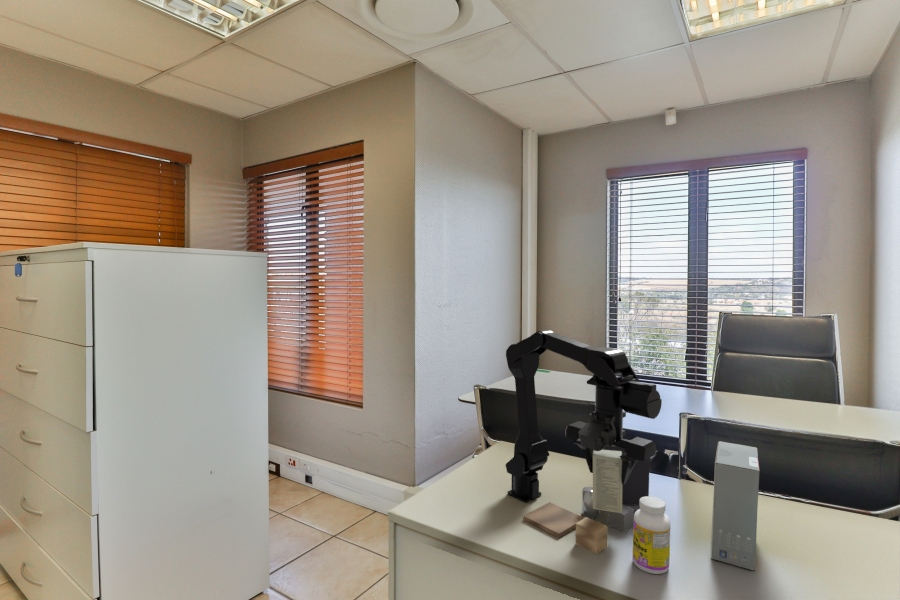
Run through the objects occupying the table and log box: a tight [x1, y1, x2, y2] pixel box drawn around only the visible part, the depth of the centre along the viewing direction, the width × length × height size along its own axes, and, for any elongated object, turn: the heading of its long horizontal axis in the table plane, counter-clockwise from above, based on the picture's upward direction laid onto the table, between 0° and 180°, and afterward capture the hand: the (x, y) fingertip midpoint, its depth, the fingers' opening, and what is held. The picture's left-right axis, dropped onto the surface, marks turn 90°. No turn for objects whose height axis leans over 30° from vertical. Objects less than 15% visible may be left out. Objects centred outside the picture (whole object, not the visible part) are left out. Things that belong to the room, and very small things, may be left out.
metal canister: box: [581, 486, 601, 520], centre depth 111 cm, size 4×4×6 cm
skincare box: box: [592, 449, 622, 513], centre depth 102 cm, size 6×4×12 cm
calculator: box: [603, 445, 651, 506], centre depth 117 cm, size 11×4×15 cm, turn 84°
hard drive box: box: [710, 440, 760, 571], centre depth 98 cm, size 16×8×20 cm, turn 148°
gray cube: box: [607, 505, 634, 533], centre depth 106 cm, size 4×4×4 cm
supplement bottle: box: [632, 495, 671, 575], centre depth 92 cm, size 7×7×13 cm
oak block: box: [575, 517, 608, 555], centre depth 99 cm, size 5×4×4 cm
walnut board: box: [522, 501, 585, 539], centre depth 108 cm, size 10×10×1 cm
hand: (607, 477), depth 102 cm, fingers closed on skincare box, 7 cm apart
